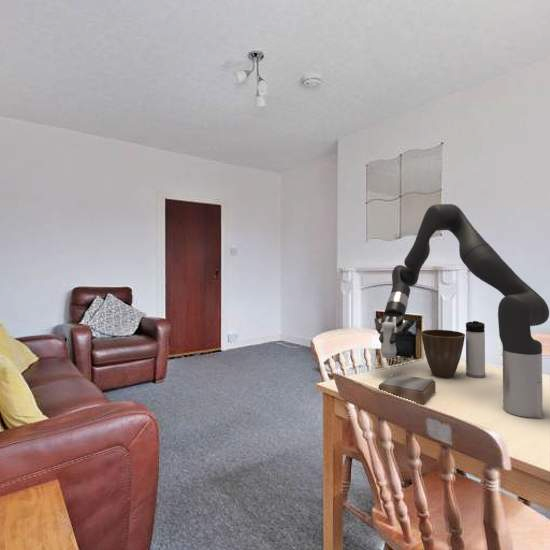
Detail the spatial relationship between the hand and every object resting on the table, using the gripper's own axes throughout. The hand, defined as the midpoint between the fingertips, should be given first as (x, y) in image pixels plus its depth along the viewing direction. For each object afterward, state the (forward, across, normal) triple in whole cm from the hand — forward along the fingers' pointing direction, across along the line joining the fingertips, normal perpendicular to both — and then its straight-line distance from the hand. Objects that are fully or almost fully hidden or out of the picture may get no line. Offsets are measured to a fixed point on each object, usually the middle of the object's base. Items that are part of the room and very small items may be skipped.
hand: (386, 342), depth 135 cm
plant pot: (-1, +16, +21) cm, 26 cm away
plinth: (+18, +11, +2) cm, 21 cm away
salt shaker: (+3, 0, +6) cm, 6 cm away
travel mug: (-6, +26, +26) cm, 37 cm away
